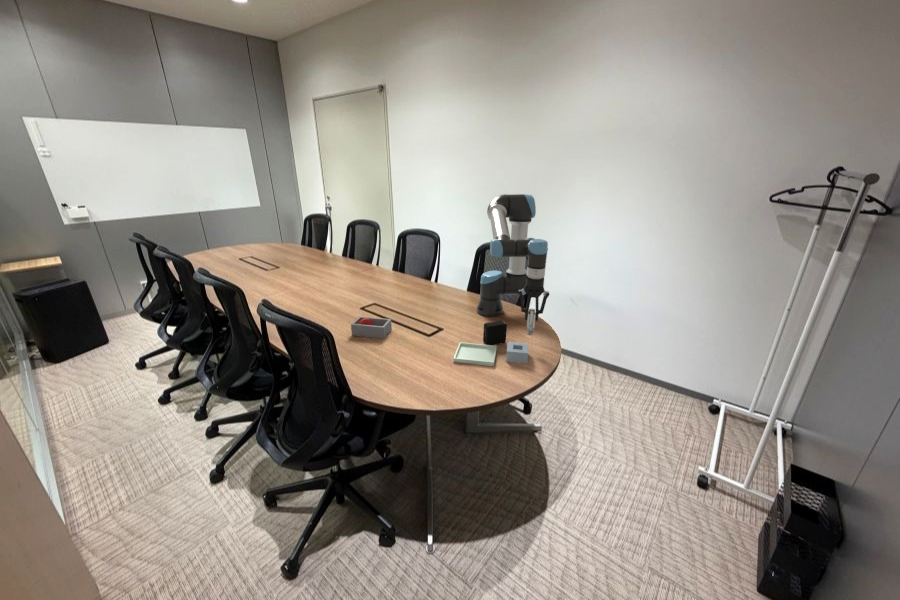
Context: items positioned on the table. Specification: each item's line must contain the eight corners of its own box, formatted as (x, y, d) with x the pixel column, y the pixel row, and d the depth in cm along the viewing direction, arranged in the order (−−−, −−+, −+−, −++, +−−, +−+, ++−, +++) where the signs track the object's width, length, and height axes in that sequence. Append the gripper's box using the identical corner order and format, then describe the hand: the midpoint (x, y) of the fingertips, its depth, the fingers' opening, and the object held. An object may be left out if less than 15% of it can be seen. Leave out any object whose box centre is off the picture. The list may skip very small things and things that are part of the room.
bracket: (362, 338, 178) (361, 323, 175) (359, 334, 181) (357, 320, 178) (385, 332, 184) (384, 317, 181) (381, 328, 188) (380, 314, 185)
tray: (459, 345, 170) (459, 342, 169) (496, 349, 167) (496, 345, 166) (453, 361, 156) (453, 358, 155) (493, 366, 153) (493, 362, 152)
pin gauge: (527, 332, 165) (529, 308, 161) (532, 333, 165) (534, 308, 160) (527, 335, 163) (529, 310, 158) (532, 335, 163) (534, 311, 158)
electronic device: (482, 342, 173) (483, 323, 169) (501, 339, 176) (502, 320, 173) (486, 346, 169) (487, 326, 166) (505, 342, 173) (507, 323, 169)
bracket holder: (360, 327, 188) (359, 316, 186) (391, 330, 185) (391, 319, 183) (352, 335, 179) (350, 324, 177) (384, 338, 176) (383, 327, 174)
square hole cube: (507, 351, 165) (507, 341, 163) (527, 353, 163) (528, 343, 161) (506, 361, 156) (506, 351, 155) (527, 363, 155) (528, 353, 153)
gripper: (517, 278, 152) (513, 328, 160) (554, 280, 149) (548, 331, 158) (517, 272, 158) (514, 321, 167) (553, 275, 156) (547, 324, 164)
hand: (530, 326), depth 162 cm, fingers closed on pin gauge, 2 cm apart
